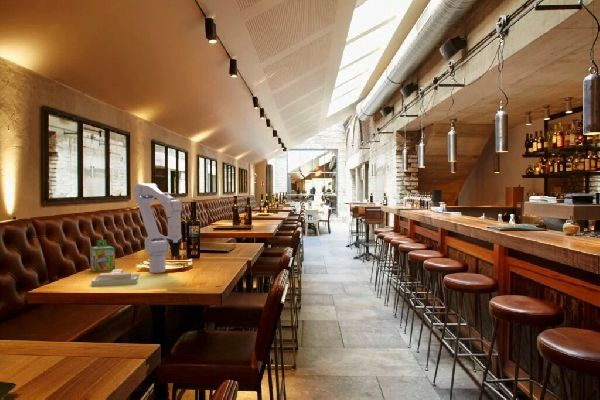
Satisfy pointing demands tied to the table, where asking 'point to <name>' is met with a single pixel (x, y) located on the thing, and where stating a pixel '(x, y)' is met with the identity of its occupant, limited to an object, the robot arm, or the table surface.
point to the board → (122, 284)
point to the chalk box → (102, 257)
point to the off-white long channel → (114, 282)
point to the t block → (115, 275)
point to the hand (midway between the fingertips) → (174, 256)
